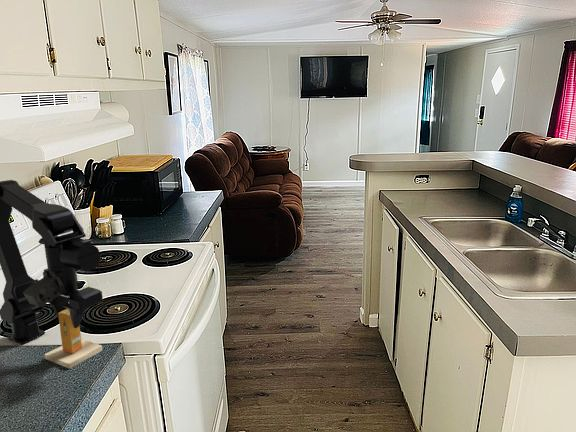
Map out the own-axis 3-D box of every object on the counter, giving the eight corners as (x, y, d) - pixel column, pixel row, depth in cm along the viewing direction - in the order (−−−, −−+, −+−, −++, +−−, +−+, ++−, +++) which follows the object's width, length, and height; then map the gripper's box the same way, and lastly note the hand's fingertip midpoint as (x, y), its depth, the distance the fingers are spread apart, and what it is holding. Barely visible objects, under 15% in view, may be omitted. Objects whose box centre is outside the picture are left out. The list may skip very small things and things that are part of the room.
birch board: (45, 358, 105) (44, 354, 105) (78, 341, 113) (77, 337, 113) (69, 368, 101) (69, 364, 101) (102, 350, 109) (102, 345, 109)
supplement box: (84, 347, 108) (78, 309, 106) (72, 354, 105) (66, 315, 103) (73, 344, 109) (68, 307, 107) (62, 351, 106) (56, 313, 104)
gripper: (1, 268, 99) (12, 331, 103) (54, 282, 90) (65, 351, 94) (48, 253, 109) (56, 312, 112) (100, 265, 100) (107, 328, 104)
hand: (70, 325), depth 105 cm, fingers open, 4 cm apart
